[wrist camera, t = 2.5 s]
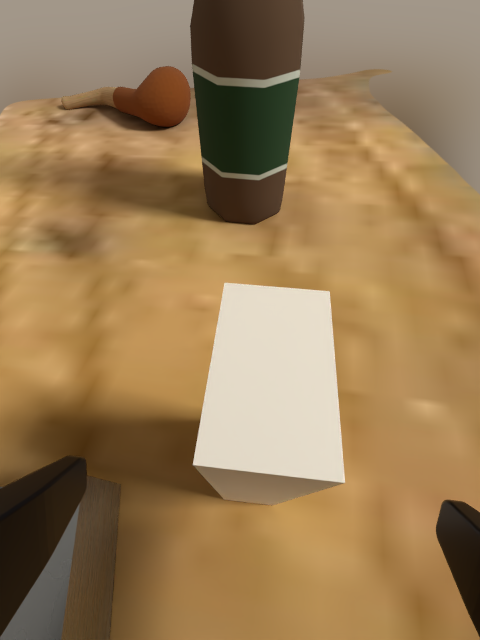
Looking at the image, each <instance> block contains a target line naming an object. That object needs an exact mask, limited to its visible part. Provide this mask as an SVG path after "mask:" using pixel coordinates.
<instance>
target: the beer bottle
mask: <svg viewBox="0 0 480 640" xmlns="http://www.w3.org/2000/svg"><path fill="white" fill-rule="evenodd" d="M190 28H191V51H192V69H193V77H194V88H195V98H196V107H197V117H198V127H199V136H200V146H201V156H202V165H203V175H204V185H205V191H206V197H207V203H208V205H209V206H210V207H211V208H212V209H213V210H214V211H215V212H216V213H217V214H218V215H220V216H221V217H222V218H223V219H224V220H225V221H227V222H238V223H248V224H257V223H259V222H261V221H263V220H265V219H267V218H269V217H271V216H273V215H275V214H277V213H278V212H279V211H280V207H281V202H282V197H283V191H284V184H285V177H286V170H287V162H288V155H289V148H290V141H291V133H292V126H293V119H294V112H295V104H296V97H297V90H298V83H299V75H300V66H301V55H302V42H303V30H304V11H303V0H194V5H193V13H192V18H191V25H190Z"/></svg>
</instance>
